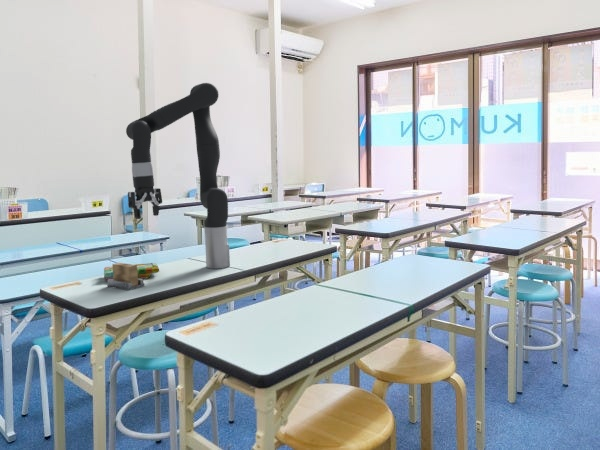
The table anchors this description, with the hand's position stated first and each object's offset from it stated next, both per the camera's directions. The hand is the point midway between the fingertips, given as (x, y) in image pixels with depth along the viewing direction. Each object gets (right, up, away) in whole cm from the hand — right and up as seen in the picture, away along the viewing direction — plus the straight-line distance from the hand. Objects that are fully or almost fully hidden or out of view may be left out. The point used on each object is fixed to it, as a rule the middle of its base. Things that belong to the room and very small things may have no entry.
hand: (147, 217), depth 195 cm
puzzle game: (-8, -24, +6) cm, 26 cm away
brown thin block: (-5, -24, -10) cm, 27 cm away
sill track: (-5, -25, -9) cm, 28 cm away
